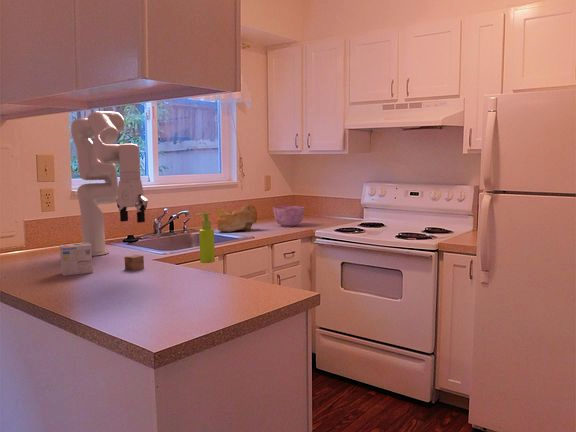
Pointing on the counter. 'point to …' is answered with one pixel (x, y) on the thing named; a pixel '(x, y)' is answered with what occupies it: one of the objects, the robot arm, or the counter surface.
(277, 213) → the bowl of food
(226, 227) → the rough brown rock
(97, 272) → the counter surface
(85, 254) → the light bulb box
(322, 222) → the counter surface
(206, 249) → the soap dispenser
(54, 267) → the counter surface
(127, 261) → the walnut cube
